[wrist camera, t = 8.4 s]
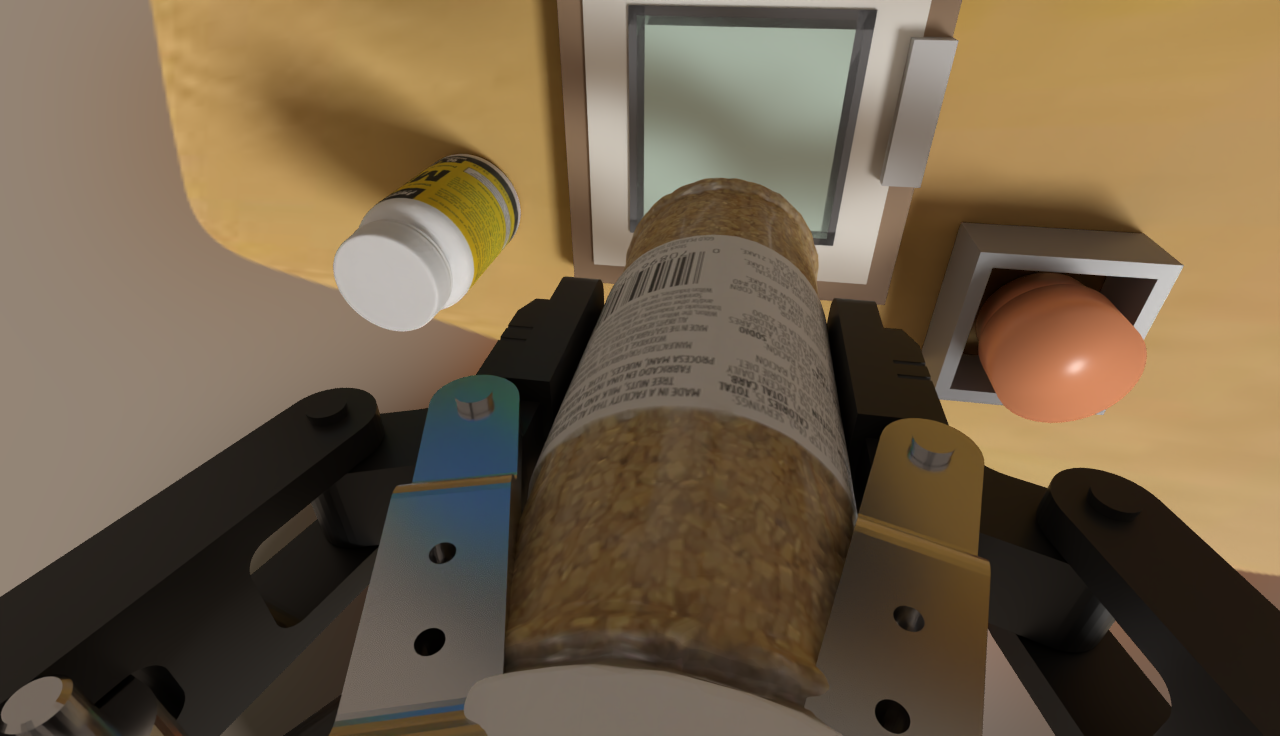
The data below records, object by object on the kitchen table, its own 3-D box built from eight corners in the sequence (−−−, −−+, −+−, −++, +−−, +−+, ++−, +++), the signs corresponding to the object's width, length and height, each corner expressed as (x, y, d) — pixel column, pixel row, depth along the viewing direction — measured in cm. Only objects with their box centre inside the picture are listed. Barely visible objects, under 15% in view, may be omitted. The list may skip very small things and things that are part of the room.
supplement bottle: (469, 129, 28) (371, 195, 21) (543, 213, 29) (475, 299, 22) (405, 192, 30) (297, 271, 23) (477, 267, 32) (397, 361, 25)
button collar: (960, 222, 26) (980, 252, 24) (1144, 233, 25) (1184, 265, 23) (918, 360, 30) (931, 398, 28) (1075, 374, 29) (1103, 414, 27)
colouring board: (556, -160, 21) (539, -167, 20) (993, -167, 20) (1014, -175, 18) (580, 269, 31) (570, 288, 29) (880, 292, 29) (887, 313, 27)
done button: (989, 261, 26) (1019, 306, 23) (1123, 270, 25) (1173, 318, 22) (954, 363, 28) (976, 415, 25) (1073, 373, 28) (1111, 429, 25)
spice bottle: (665, 361, 17) (487, 1135, 6) (599, 204, 15) (133, 973, 4) (839, 320, 15) (1023, 1253, 5) (795, 139, 13) (940, 1096, 2)
